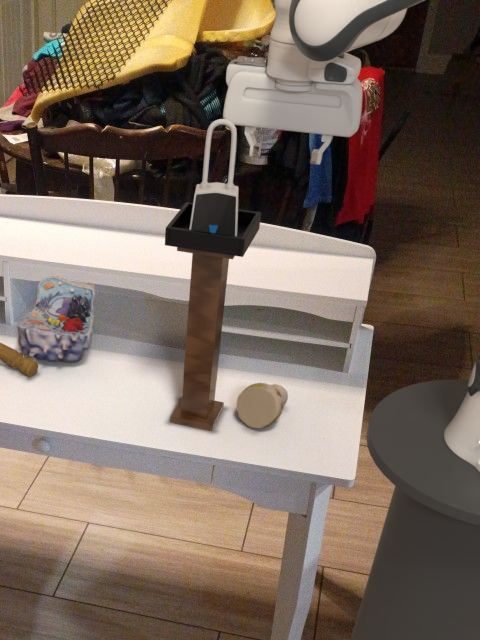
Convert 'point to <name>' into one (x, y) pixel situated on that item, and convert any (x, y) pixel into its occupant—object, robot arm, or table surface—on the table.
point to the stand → (203, 340)
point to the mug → (261, 404)
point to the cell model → (58, 321)
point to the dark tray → (212, 242)
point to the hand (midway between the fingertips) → (284, 159)
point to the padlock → (216, 194)
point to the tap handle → (18, 360)
